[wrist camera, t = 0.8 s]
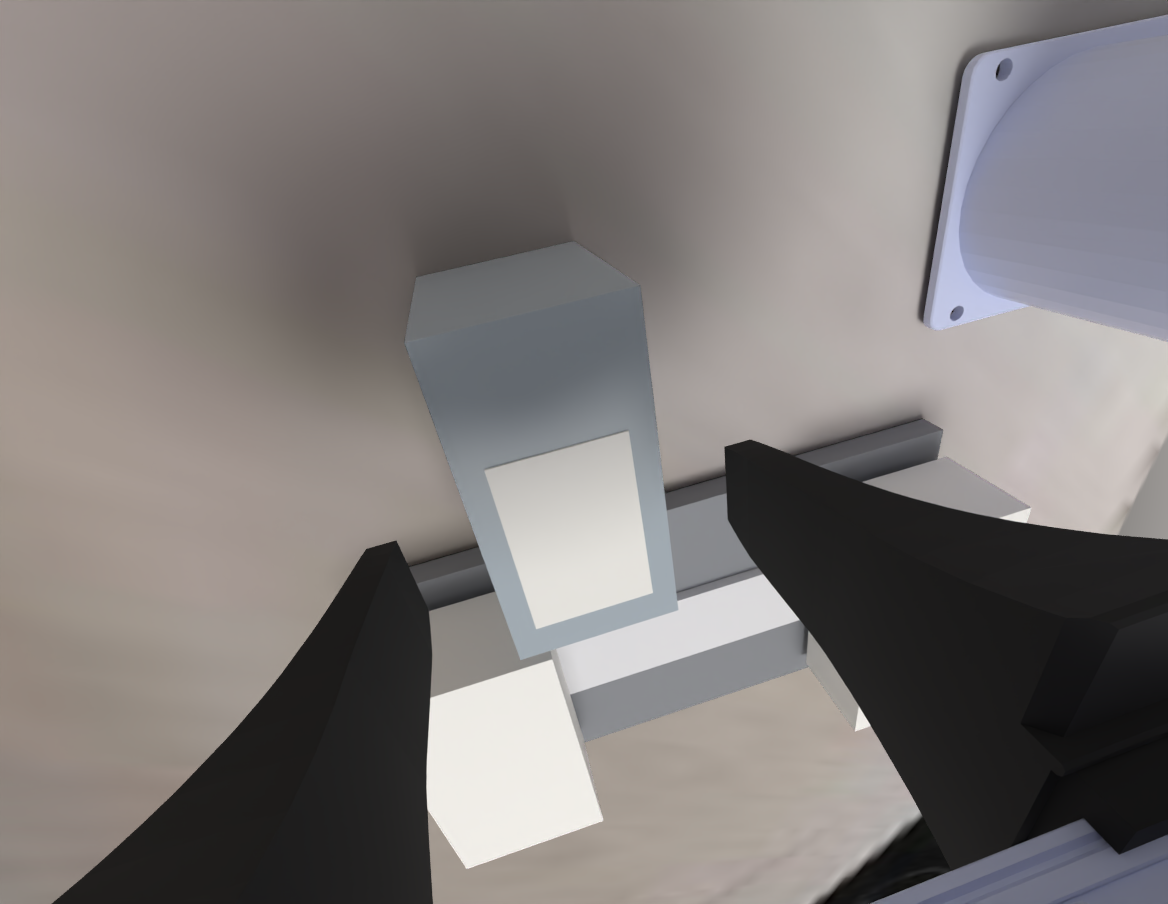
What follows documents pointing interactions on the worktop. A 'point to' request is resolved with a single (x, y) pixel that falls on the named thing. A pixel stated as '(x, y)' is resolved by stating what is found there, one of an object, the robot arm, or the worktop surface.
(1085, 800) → the robot arm
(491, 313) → the block
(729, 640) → the rail board
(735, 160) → the worktop surface
